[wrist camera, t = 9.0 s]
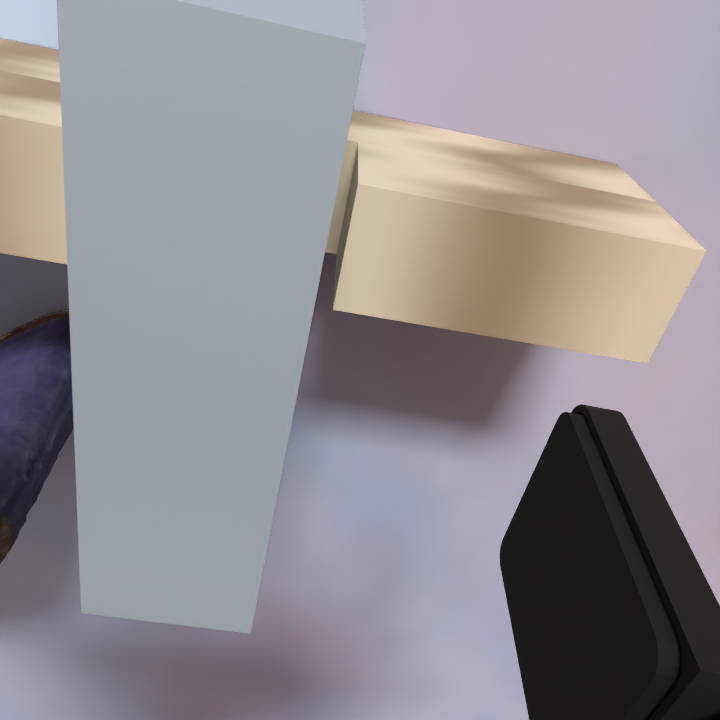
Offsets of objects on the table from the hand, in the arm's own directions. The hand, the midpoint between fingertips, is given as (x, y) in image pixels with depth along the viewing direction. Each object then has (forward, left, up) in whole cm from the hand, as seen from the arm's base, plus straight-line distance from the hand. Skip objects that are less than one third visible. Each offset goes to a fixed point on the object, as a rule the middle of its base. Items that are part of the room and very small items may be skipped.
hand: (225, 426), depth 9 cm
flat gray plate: (+1, 0, -12) cm, 12 cm away
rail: (+1, 0, -12) cm, 12 cm away
